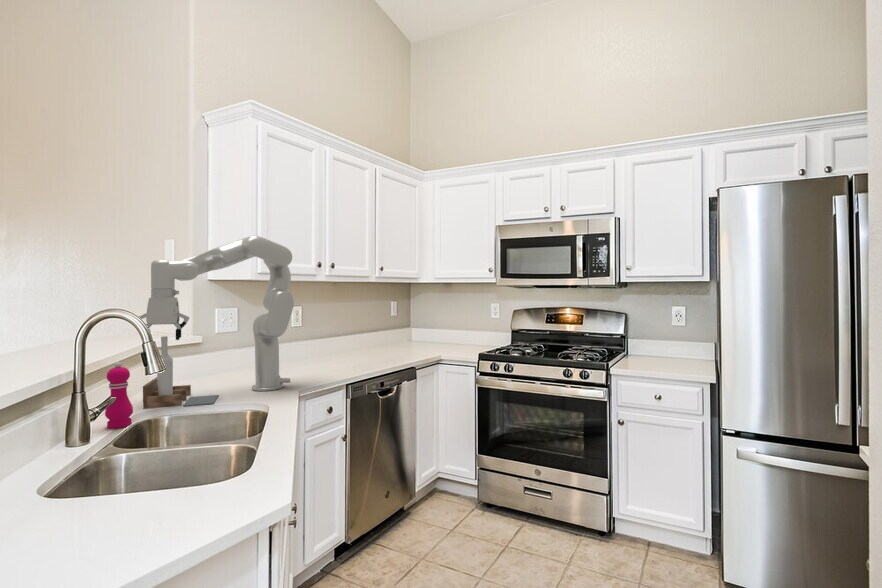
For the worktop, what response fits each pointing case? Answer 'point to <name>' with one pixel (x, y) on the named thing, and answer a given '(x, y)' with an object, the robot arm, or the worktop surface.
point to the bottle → (167, 376)
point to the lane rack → (157, 401)
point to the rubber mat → (201, 400)
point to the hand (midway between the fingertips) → (163, 340)
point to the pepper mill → (119, 398)
